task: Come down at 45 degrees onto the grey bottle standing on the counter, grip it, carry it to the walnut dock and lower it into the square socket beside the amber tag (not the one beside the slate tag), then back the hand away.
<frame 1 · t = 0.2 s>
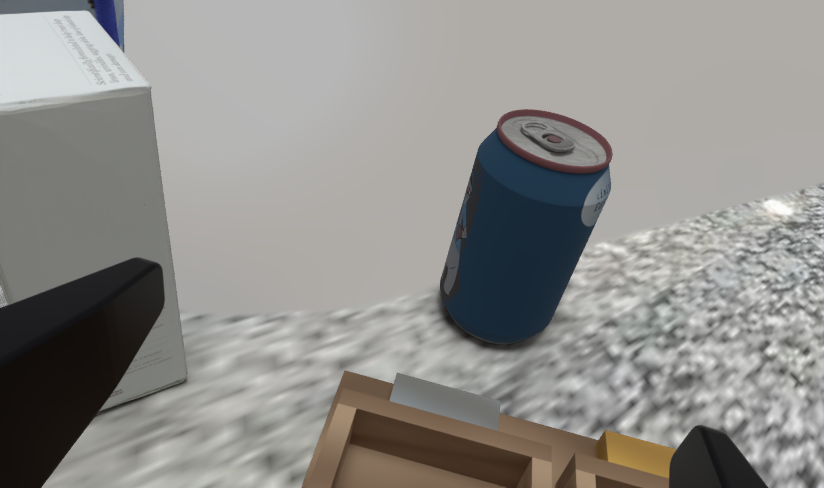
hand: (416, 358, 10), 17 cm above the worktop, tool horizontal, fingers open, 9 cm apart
soda can: (490, 312, 36), on the worktop
skincare box: (97, 347, 29), on the worktop
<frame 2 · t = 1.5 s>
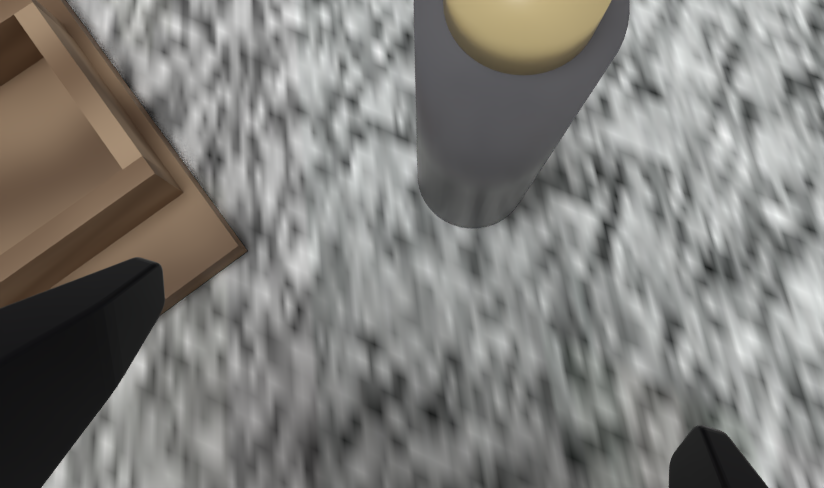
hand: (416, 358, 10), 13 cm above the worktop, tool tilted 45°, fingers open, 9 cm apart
grey bottle: (471, 175, 24), on the worktop
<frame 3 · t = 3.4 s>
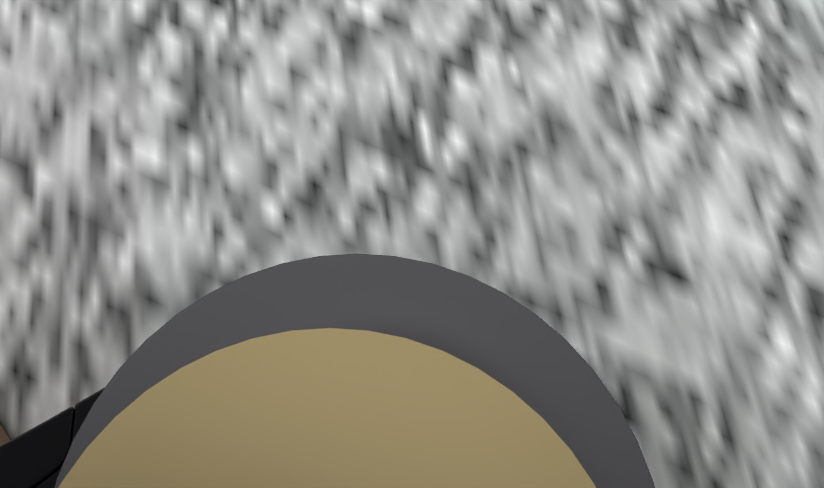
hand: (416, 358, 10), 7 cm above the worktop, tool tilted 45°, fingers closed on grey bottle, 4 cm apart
grey bottle: (404, 404, 16), on the worktop, touching gripper
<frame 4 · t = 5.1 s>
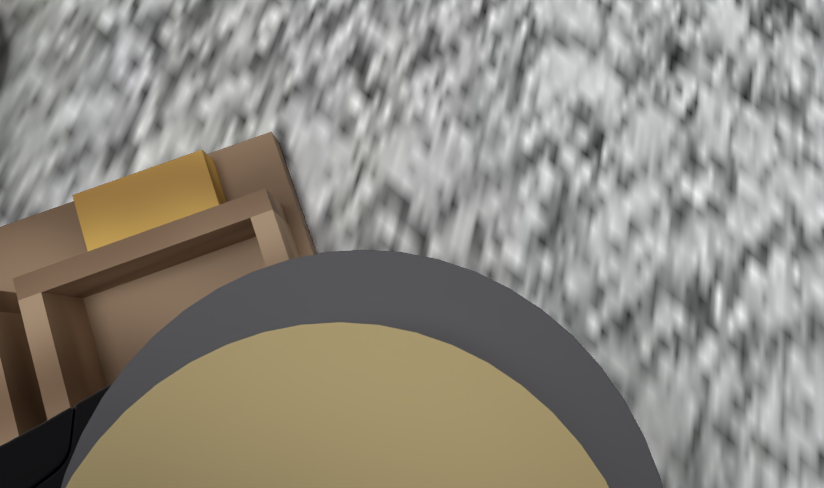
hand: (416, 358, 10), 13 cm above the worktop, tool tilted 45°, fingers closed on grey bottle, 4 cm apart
grey bottle: (406, 403, 16), point 7 cm above the worktop, touching gripper
dock: (92, 402, 23), on the worktop
when the fingers open (9 cm above the worktop, at t = 6.7 s): grey bottle drops 1 cm, resting on dock.
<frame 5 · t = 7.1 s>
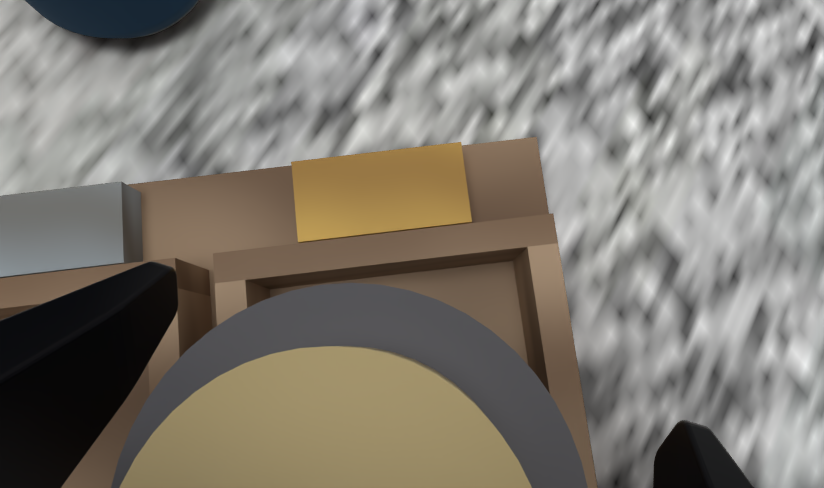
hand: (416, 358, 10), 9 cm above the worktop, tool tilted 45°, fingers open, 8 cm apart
grey bottle: (404, 401, 17), point 1 cm above the worktop, touching dock
dock: (246, 415, 18), on the worktop
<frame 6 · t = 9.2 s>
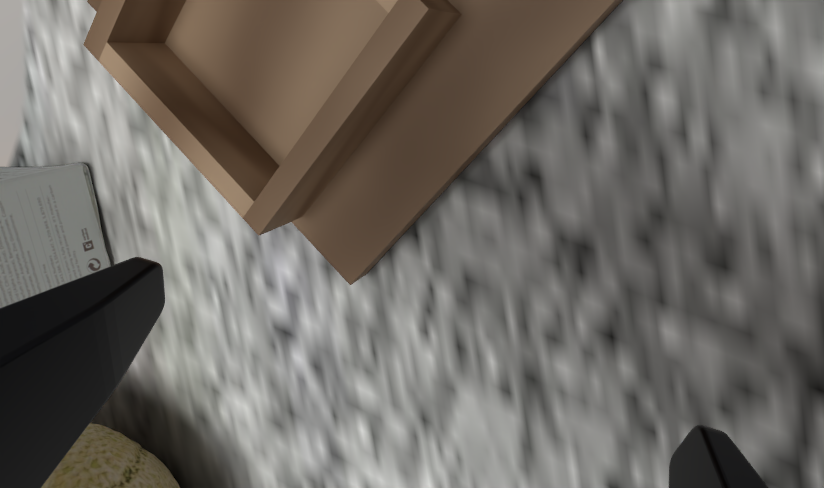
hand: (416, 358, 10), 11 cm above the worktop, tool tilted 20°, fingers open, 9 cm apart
cantaloupe: (156, 485, 32), on the worktop
skincare box: (51, 221, 30), on the worktop
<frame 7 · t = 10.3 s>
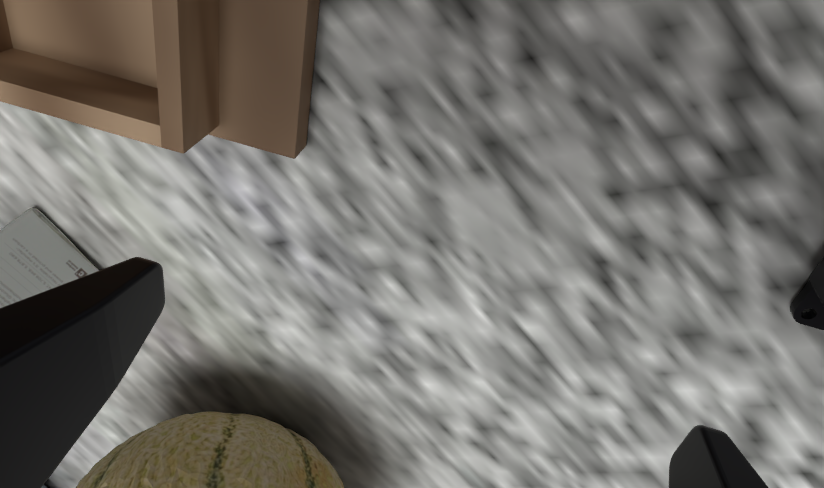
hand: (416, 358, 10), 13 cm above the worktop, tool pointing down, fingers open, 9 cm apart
cantaloupe: (270, 442, 35), on the worktop
skincare box: (45, 278, 31), on the worktop
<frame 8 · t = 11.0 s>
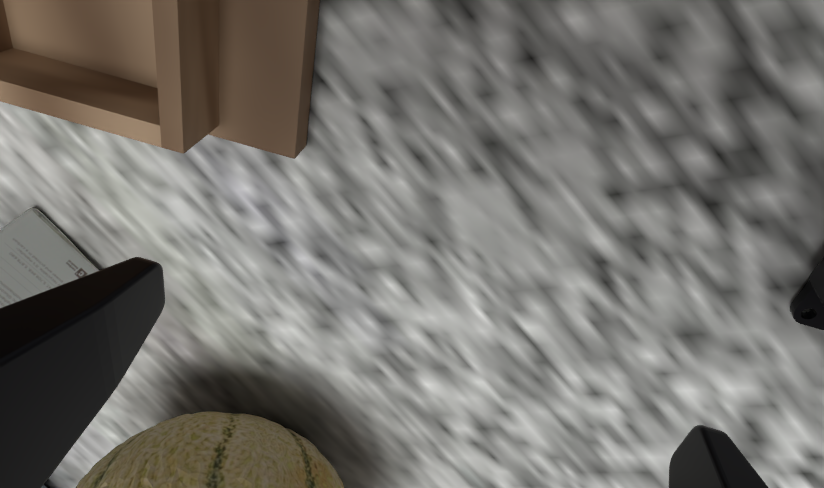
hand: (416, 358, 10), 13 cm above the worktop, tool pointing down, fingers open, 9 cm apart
cantaloupe: (270, 442, 35), on the worktop
skincare box: (45, 278, 31), on the worktop
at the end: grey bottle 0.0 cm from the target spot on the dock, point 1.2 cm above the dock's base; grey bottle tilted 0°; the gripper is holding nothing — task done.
